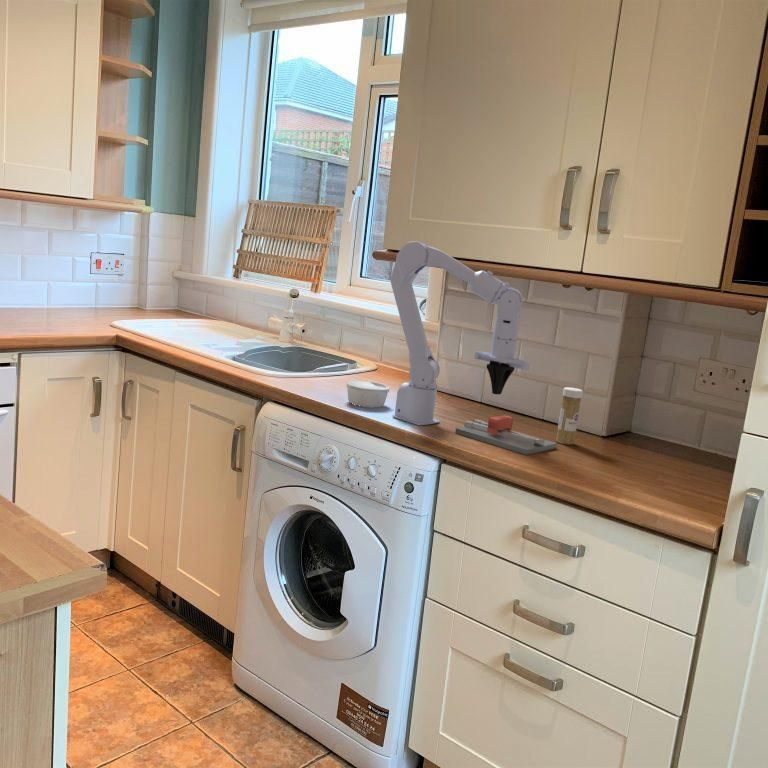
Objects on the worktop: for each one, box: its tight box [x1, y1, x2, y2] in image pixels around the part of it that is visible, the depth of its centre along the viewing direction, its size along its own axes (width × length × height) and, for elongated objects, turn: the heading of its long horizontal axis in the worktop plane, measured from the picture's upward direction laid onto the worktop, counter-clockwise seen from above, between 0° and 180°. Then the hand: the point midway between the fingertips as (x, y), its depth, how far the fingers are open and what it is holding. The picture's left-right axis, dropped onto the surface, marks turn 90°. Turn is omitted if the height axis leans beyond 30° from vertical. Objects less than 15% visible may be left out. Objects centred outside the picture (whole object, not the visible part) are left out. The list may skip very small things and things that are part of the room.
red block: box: [487, 415, 514, 435], centre depth 192 cm, size 2×7×4 cm, turn 138°
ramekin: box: [346, 380, 390, 408], centre depth 214 cm, size 11×11×5 cm
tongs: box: [463, 419, 545, 447], centre depth 191 cm, size 21×5×1 cm, turn 48°
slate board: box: [455, 426, 558, 456], centre depth 191 cm, size 20×13×1 cm, turn 48°
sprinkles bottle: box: [555, 386, 584, 445], centre depth 195 cm, size 5×5×13 cm
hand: (496, 393), depth 196 cm, fingers closed
